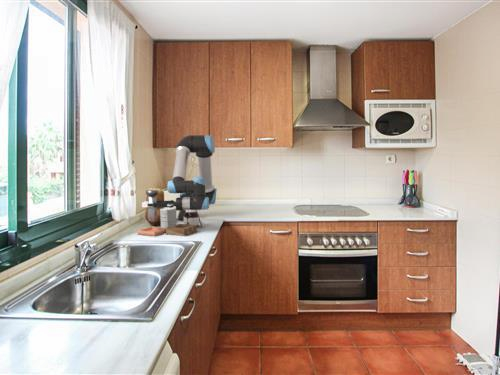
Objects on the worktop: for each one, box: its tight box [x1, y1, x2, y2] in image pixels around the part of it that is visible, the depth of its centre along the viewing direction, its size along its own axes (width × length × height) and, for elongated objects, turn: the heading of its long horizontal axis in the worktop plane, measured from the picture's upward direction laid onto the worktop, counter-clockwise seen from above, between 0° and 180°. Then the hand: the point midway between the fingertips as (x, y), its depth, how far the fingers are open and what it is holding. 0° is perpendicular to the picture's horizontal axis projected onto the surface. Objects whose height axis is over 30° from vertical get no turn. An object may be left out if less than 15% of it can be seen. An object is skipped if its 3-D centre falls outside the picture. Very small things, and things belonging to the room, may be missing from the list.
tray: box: [137, 226, 166, 237], centre depth 215 cm, size 13×13×2 cm
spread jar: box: [183, 210, 205, 228], centre depth 234 cm, size 12×11×12 cm
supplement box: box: [160, 207, 178, 228], centre depth 231 cm, size 7×7×13 cm
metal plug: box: [145, 189, 158, 222], centre depth 214 cm, size 7×7×18 cm
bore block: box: [165, 223, 198, 237], centre depth 216 cm, size 13×13×4 cm
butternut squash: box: [144, 187, 165, 227], centre depth 240 cm, size 14×13×25 cm
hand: (143, 204), depth 213 cm, fingers closed on metal plug, 5 cm apart
